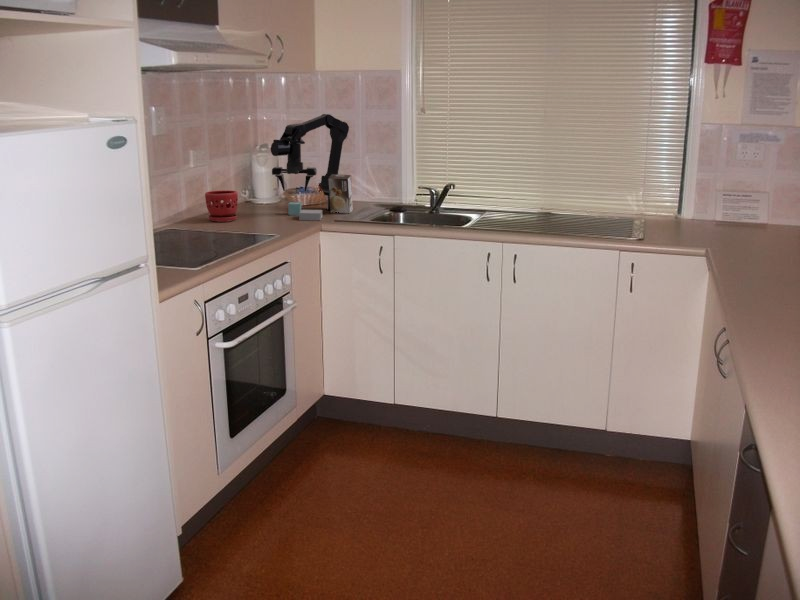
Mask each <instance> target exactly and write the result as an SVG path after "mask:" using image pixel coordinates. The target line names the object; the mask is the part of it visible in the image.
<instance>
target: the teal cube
mask: <svg viewBox="0 0 800 600" xmlns="http://www.w3.org/2000/svg"><path fill="white" fill-rule="evenodd" d="M287 205H288V207H287V211H288V216H299V213H300V211H301V210H302V202H299V201H298V202H292V201H291V202H288V204H287Z"/></svg>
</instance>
